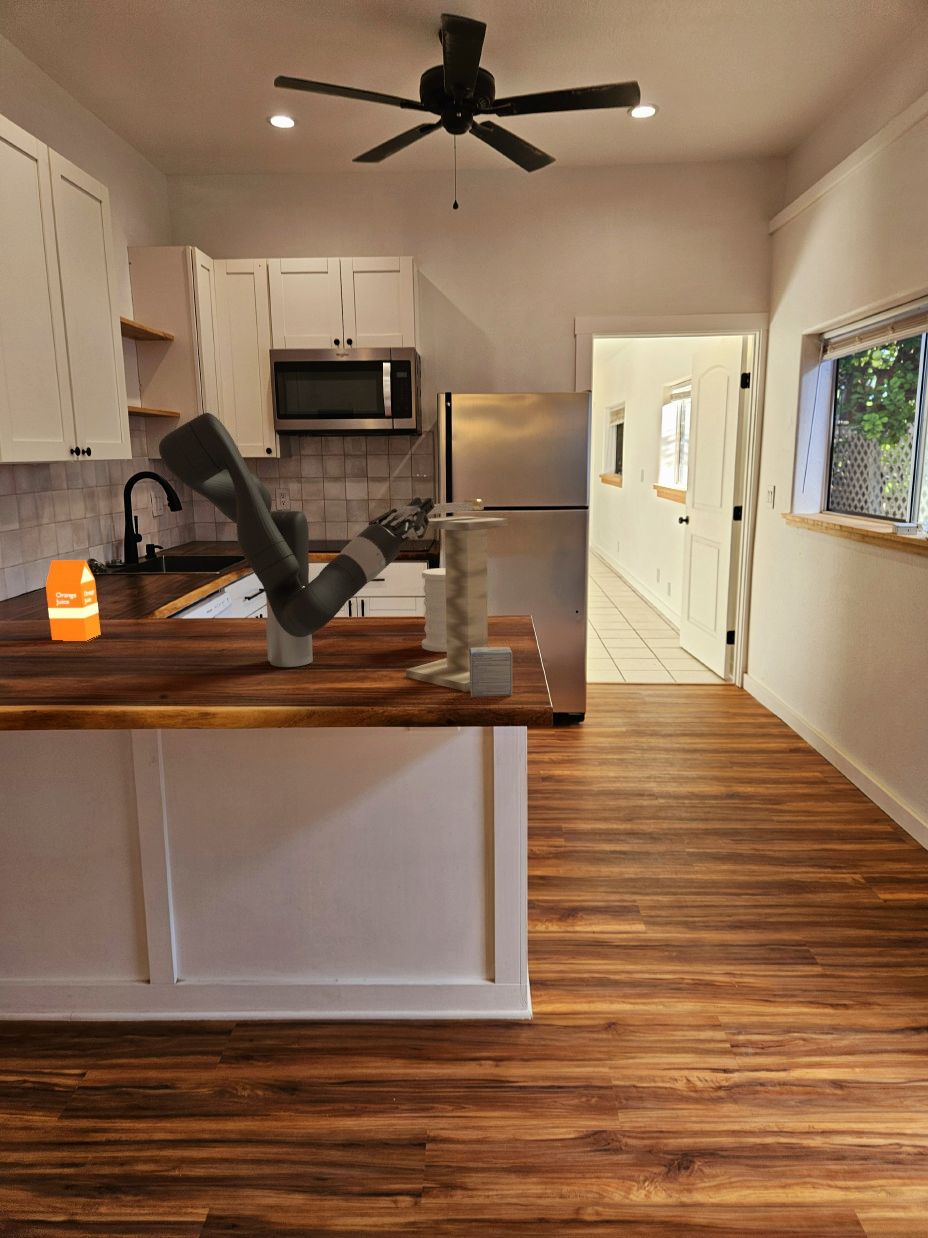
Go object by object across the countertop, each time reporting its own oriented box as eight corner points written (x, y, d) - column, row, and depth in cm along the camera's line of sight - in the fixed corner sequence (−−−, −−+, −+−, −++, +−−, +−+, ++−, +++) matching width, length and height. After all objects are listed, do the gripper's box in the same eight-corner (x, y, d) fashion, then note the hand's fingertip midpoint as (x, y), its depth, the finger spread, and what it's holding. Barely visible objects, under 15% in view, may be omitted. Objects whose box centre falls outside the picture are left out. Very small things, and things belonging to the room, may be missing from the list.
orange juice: (86, 641, 200) (78, 562, 196) (51, 641, 200) (42, 562, 196) (101, 634, 207) (93, 557, 203) (67, 634, 208) (58, 558, 204)
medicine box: (510, 689, 155) (510, 646, 153) (512, 696, 151) (512, 651, 149) (469, 690, 155) (468, 647, 153) (470, 697, 150) (470, 652, 148)
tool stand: (406, 676, 165) (401, 520, 158) (455, 662, 176) (453, 515, 169) (464, 691, 154) (462, 524, 148) (512, 674, 165) (512, 518, 159)
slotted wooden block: (398, 515, 149) (398, 504, 148) (472, 508, 164) (472, 498, 164) (411, 516, 146) (411, 505, 146) (485, 509, 162) (485, 499, 161)
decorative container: (438, 638, 199) (437, 566, 195) (479, 643, 193) (478, 569, 189) (412, 648, 189) (410, 572, 185) (454, 654, 183) (453, 576, 179)
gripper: (386, 540, 135) (445, 485, 145) (333, 535, 144) (392, 483, 154) (403, 575, 140) (460, 519, 149) (350, 568, 149) (407, 516, 158)
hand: (425, 501), depth 151 cm, fingers closed on slotted wooden block, 2 cm apart
